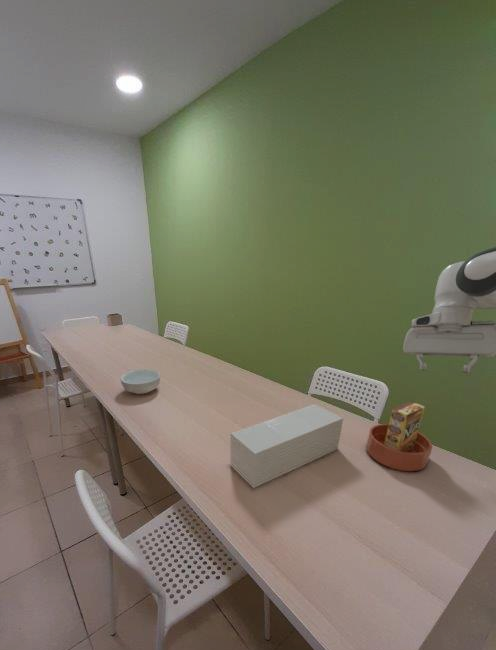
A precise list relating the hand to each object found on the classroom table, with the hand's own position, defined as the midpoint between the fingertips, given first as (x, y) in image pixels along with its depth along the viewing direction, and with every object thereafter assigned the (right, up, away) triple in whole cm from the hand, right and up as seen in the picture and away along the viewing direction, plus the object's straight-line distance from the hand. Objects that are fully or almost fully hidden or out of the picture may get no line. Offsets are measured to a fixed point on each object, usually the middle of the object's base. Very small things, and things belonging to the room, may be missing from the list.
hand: (443, 371), depth 82 cm
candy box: (-10, -24, +5) cm, 27 cm away
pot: (-10, -24, +6) cm, 27 cm away
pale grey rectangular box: (-42, -25, +6) cm, 49 cm away
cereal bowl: (-94, -7, +52) cm, 108 cm away
